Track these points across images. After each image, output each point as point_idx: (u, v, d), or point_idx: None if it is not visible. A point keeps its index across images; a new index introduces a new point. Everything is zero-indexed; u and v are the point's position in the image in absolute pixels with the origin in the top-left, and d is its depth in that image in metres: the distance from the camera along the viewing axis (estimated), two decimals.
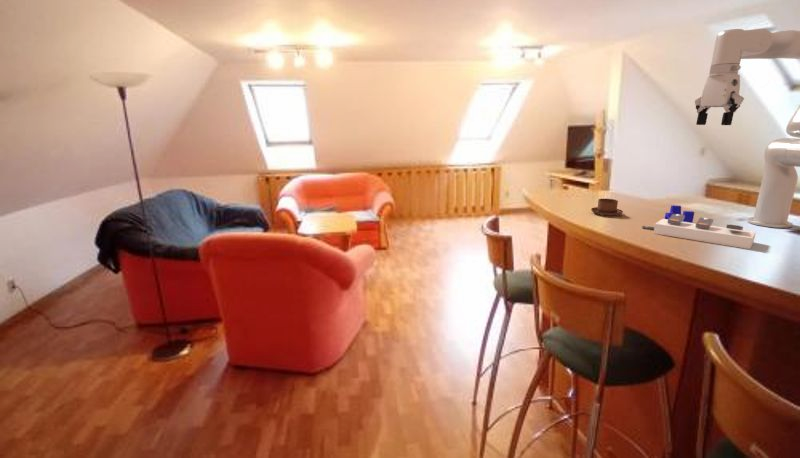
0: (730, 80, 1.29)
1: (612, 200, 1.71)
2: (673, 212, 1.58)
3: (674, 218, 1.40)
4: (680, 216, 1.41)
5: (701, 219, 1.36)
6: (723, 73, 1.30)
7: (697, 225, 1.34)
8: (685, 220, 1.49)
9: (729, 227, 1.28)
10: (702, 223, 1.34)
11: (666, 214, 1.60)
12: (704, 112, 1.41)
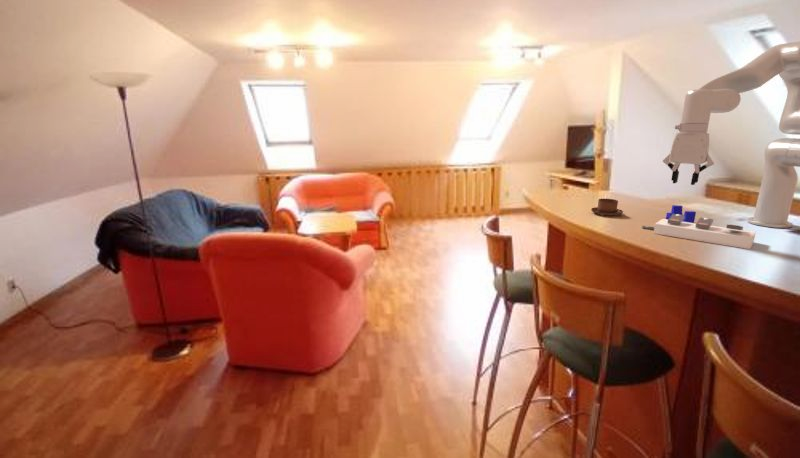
0: None
1: (612, 200, 1.71)
2: (674, 212, 1.58)
3: (674, 218, 1.40)
4: (680, 216, 1.41)
5: (701, 219, 1.36)
6: None
7: (697, 225, 1.34)
8: (687, 220, 1.49)
9: (729, 227, 1.28)
10: (702, 223, 1.34)
11: (667, 214, 1.60)
12: None
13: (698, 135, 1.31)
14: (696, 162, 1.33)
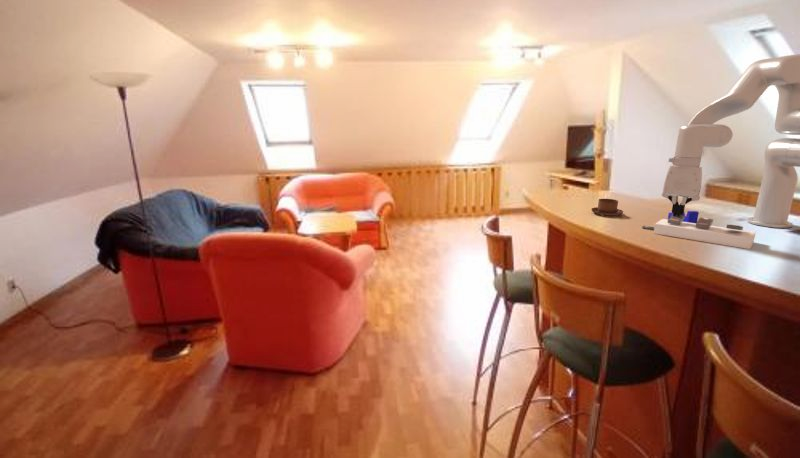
0: None
1: (612, 200, 1.71)
2: None
3: (674, 218, 1.40)
4: (680, 216, 1.41)
5: (701, 219, 1.36)
6: None
7: (697, 225, 1.34)
8: (689, 220, 1.49)
9: (729, 227, 1.28)
10: (702, 223, 1.34)
11: (669, 214, 1.60)
12: None
13: (691, 169, 1.35)
14: (689, 195, 1.36)
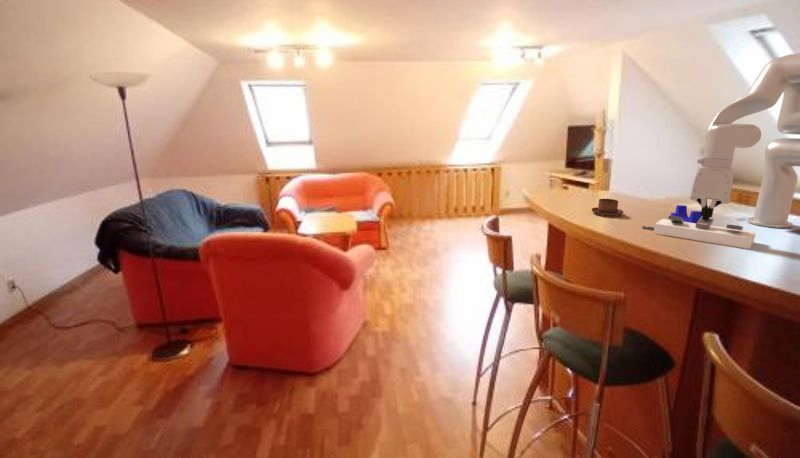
0: None
1: (612, 200, 1.71)
2: (679, 212, 1.58)
3: None
4: None
5: (701, 219, 1.36)
6: None
7: (697, 225, 1.34)
8: (693, 220, 1.49)
9: (729, 227, 1.28)
10: (702, 223, 1.34)
11: (672, 214, 1.60)
12: None
13: (722, 171, 1.29)
14: (719, 198, 1.30)
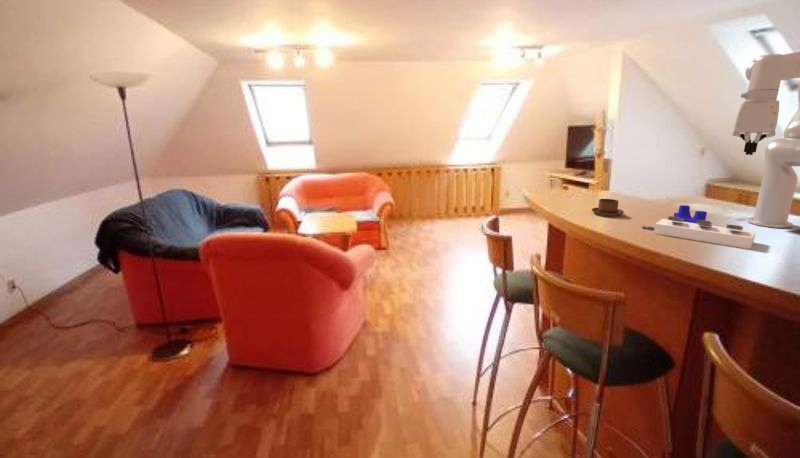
0: None
1: (613, 200, 1.71)
2: (682, 212, 1.58)
3: None
4: None
5: None
6: None
7: (698, 221, 1.34)
8: None
9: (729, 227, 1.28)
10: None
11: (675, 214, 1.60)
12: None
13: (768, 103, 1.27)
14: (765, 131, 1.29)
